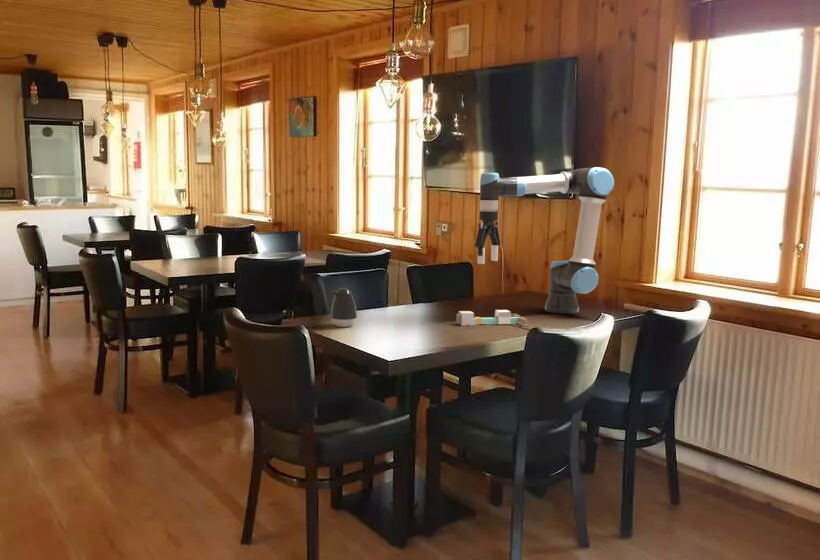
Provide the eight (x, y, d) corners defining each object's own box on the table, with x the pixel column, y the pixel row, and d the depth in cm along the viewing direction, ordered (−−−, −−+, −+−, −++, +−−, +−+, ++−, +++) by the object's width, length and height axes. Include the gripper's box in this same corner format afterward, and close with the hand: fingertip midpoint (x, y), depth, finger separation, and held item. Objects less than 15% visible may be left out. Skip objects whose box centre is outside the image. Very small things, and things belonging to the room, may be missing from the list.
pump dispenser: (326, 324, 283) (327, 286, 281) (351, 323, 287) (352, 285, 285) (334, 329, 273) (334, 290, 271) (360, 327, 277) (360, 289, 275)
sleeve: (506, 321, 294) (506, 309, 293) (510, 323, 289) (510, 312, 288) (494, 321, 293) (495, 310, 292) (498, 324, 288) (499, 312, 287)
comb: (515, 320, 299) (516, 313, 299) (527, 326, 286) (527, 319, 285) (510, 320, 299) (510, 313, 298) (521, 326, 285) (522, 319, 285)
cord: (519, 322, 295) (519, 310, 294) (523, 324, 290) (523, 312, 289) (455, 323, 289) (456, 311, 289) (459, 325, 285) (459, 313, 284)
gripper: (492, 209, 304) (491, 259, 307) (467, 211, 283) (466, 264, 286) (508, 210, 301) (507, 260, 303) (484, 211, 279) (483, 265, 282)
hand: (487, 262), depth 294 cm, fingers open, 13 cm apart
